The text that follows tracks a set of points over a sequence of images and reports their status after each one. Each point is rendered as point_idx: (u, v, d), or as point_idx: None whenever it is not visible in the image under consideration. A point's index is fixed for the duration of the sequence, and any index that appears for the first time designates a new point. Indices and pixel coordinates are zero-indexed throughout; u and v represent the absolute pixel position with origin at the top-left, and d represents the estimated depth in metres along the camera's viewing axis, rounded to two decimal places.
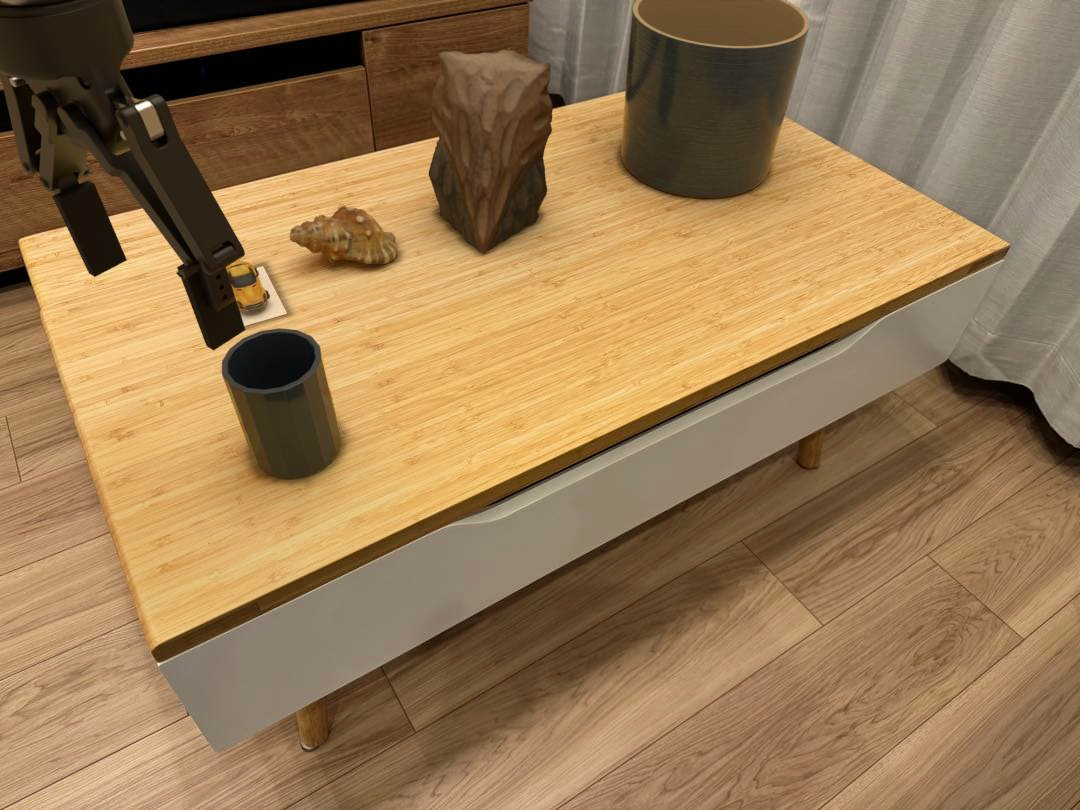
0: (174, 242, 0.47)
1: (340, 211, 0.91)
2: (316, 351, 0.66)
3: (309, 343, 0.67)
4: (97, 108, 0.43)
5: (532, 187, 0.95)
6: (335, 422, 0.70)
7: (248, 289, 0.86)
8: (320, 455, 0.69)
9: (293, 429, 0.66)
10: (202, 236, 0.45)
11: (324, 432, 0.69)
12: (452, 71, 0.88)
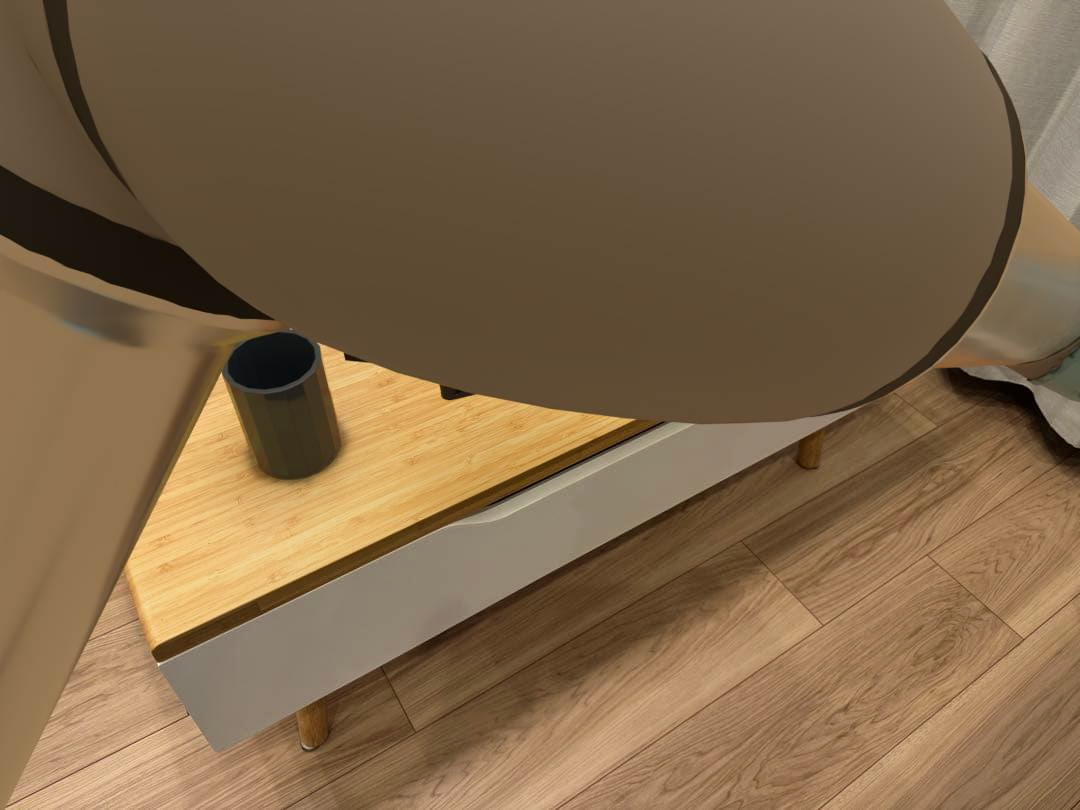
0: None
1: None
2: (316, 351, 0.66)
3: (309, 343, 0.67)
4: None
5: None
6: (335, 422, 0.70)
7: None
8: (320, 455, 0.69)
9: (293, 429, 0.66)
10: None
11: (324, 432, 0.69)
12: None
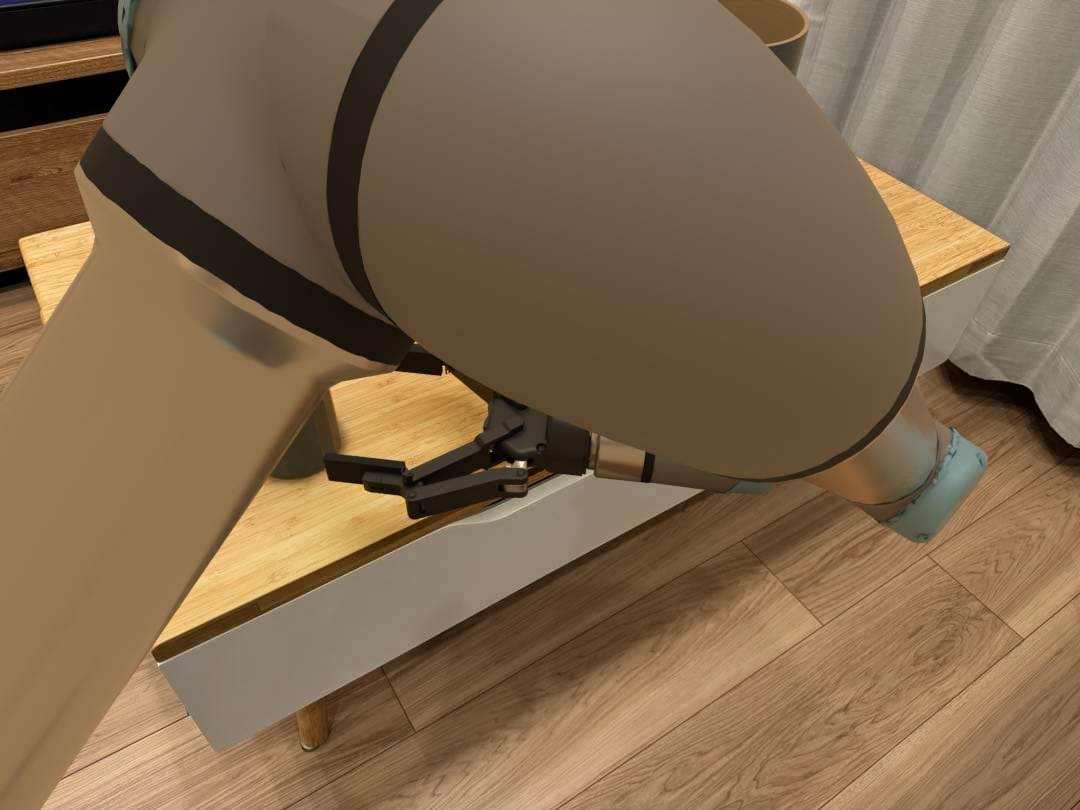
0: (427, 470, 0.62)
1: None
2: None
3: None
4: (523, 450, 0.64)
5: None
6: (335, 422, 0.70)
7: None
8: (320, 455, 0.69)
9: None
10: (435, 499, 0.60)
11: (324, 432, 0.69)
12: None
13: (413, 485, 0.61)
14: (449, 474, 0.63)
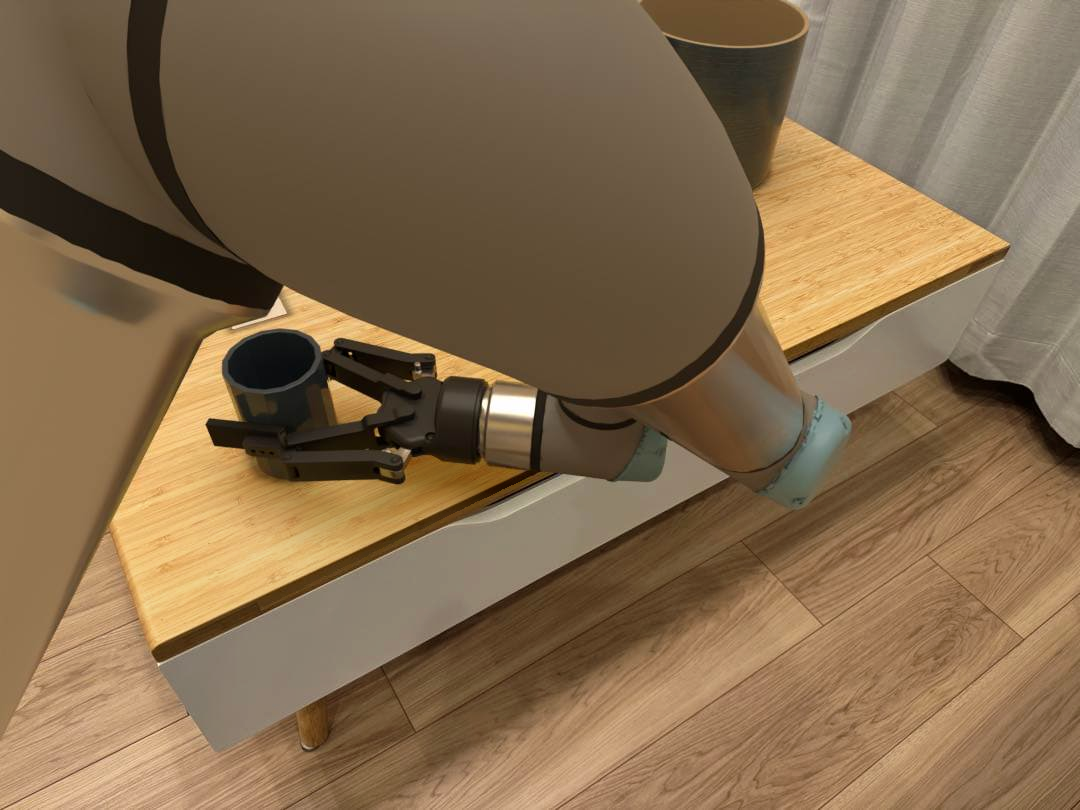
0: (306, 438, 0.64)
1: None
2: (316, 351, 0.66)
3: (309, 343, 0.67)
4: (412, 438, 0.64)
5: None
6: (335, 422, 0.70)
7: None
8: None
9: (293, 429, 0.66)
10: (308, 466, 0.62)
11: None
12: None
13: (288, 449, 0.64)
14: (329, 447, 0.65)
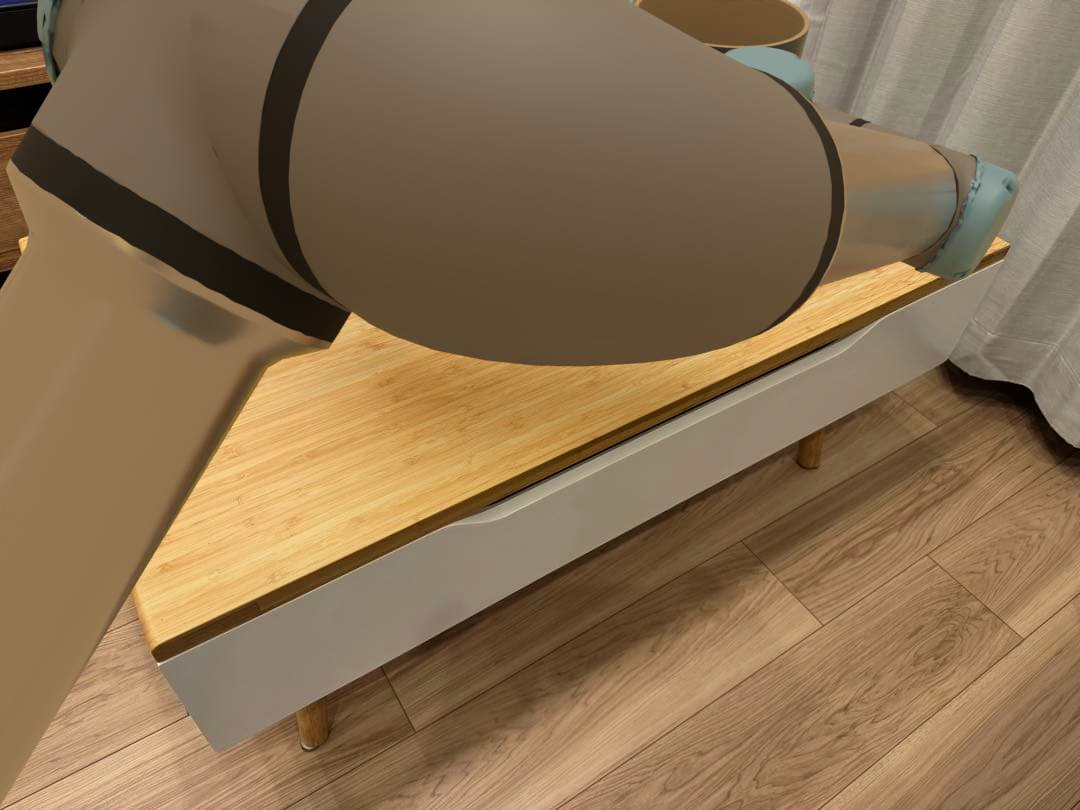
0: None
1: None
2: None
3: None
4: None
5: None
6: None
7: None
8: None
9: None
10: None
11: None
12: None
13: None
14: None
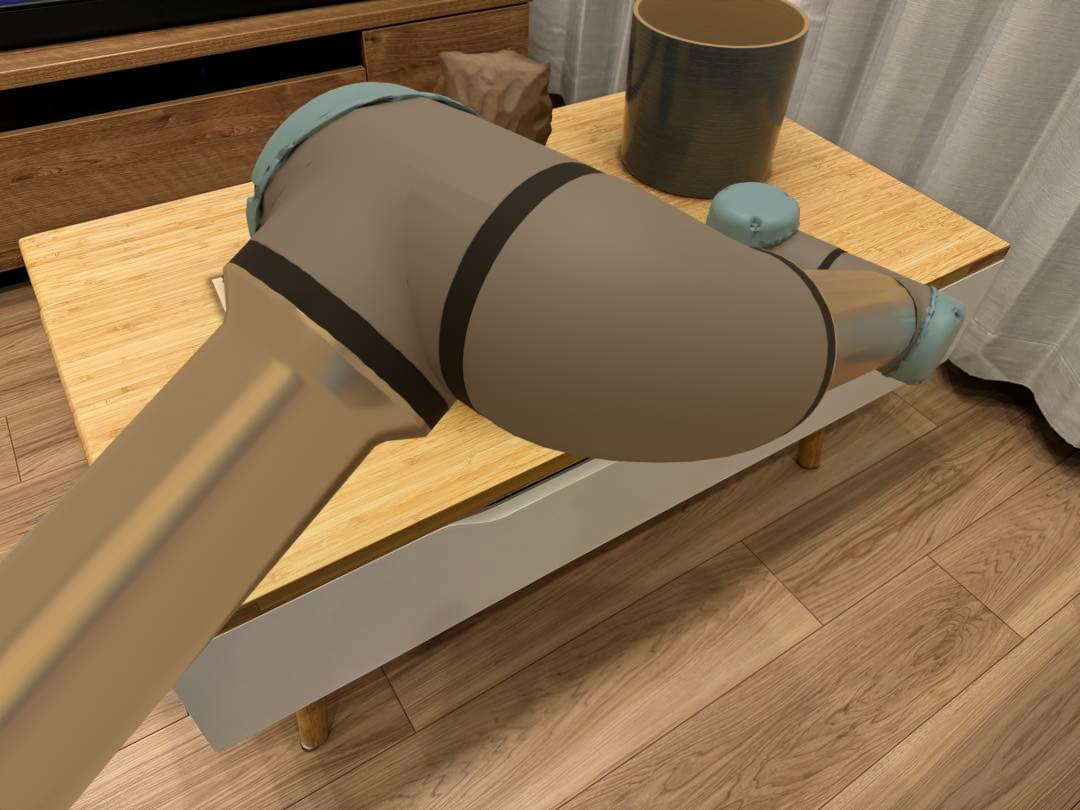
0: None
1: None
2: None
3: None
4: None
5: None
6: None
7: None
8: None
9: None
10: None
11: None
12: (452, 71, 0.88)
13: None
14: None
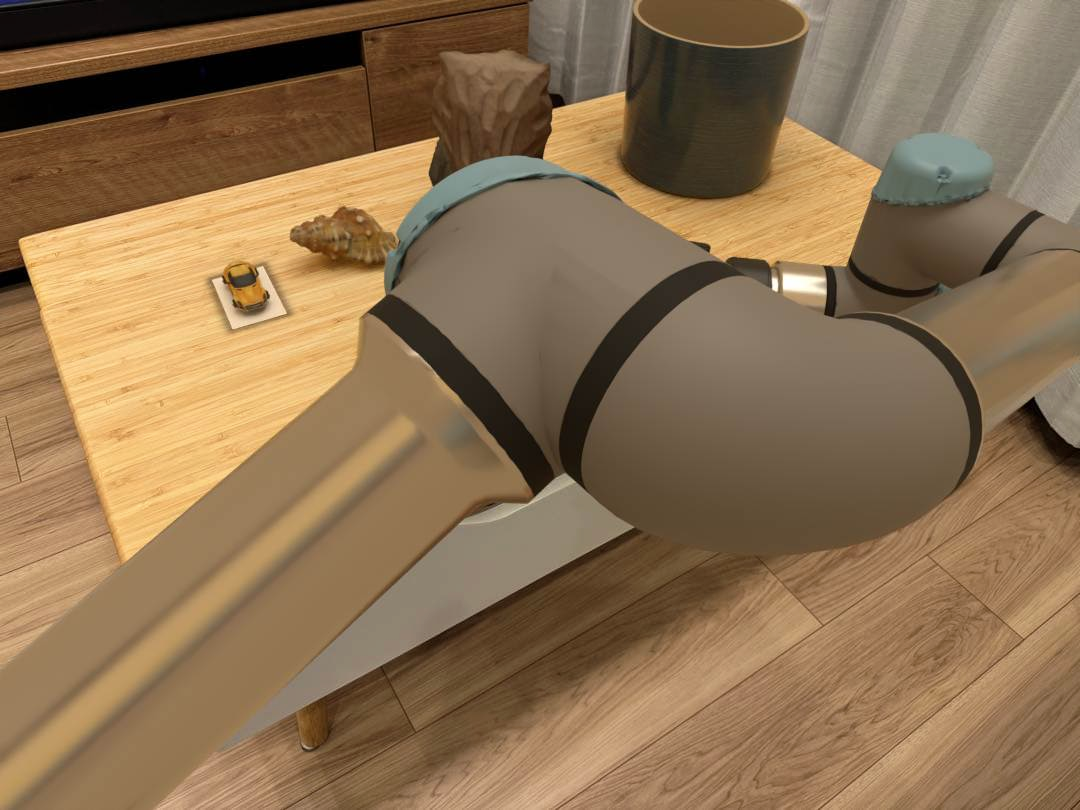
0: None
1: (340, 211, 0.91)
2: None
3: None
4: None
5: None
6: None
7: (248, 289, 0.86)
8: None
9: None
10: None
11: None
12: (452, 71, 0.88)
13: None
14: None
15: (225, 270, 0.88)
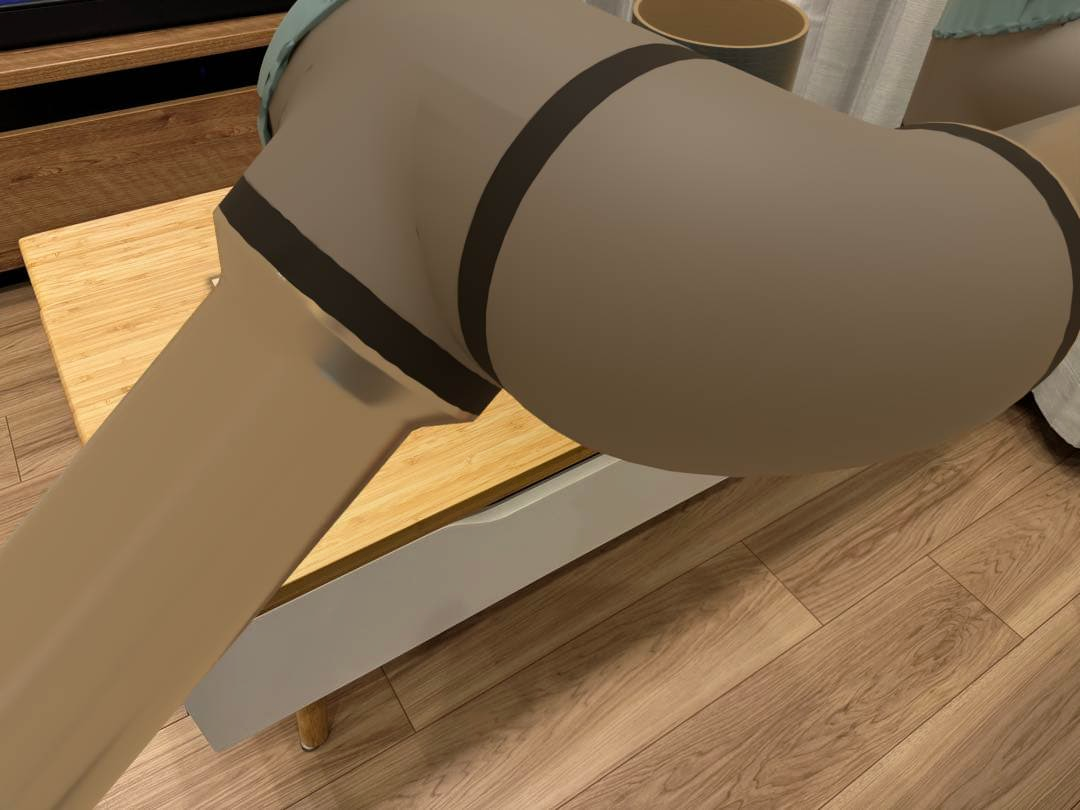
0: None
1: None
2: None
3: None
4: None
5: None
6: None
7: None
8: None
9: None
10: None
11: None
12: None
13: None
14: None
15: None
